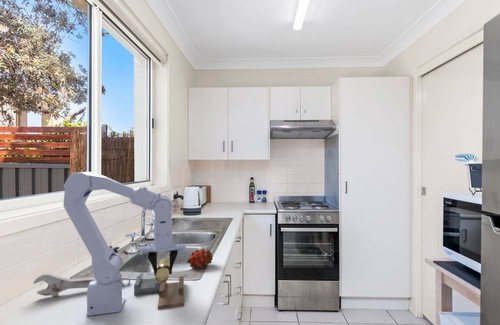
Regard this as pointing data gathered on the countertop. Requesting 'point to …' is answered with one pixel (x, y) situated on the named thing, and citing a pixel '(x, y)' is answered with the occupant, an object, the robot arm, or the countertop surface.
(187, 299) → the countertop surface
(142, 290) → the v block
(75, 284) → the wrench
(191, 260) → the dragon fruit
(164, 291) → the brown wooden cradle
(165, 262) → the brass axle
